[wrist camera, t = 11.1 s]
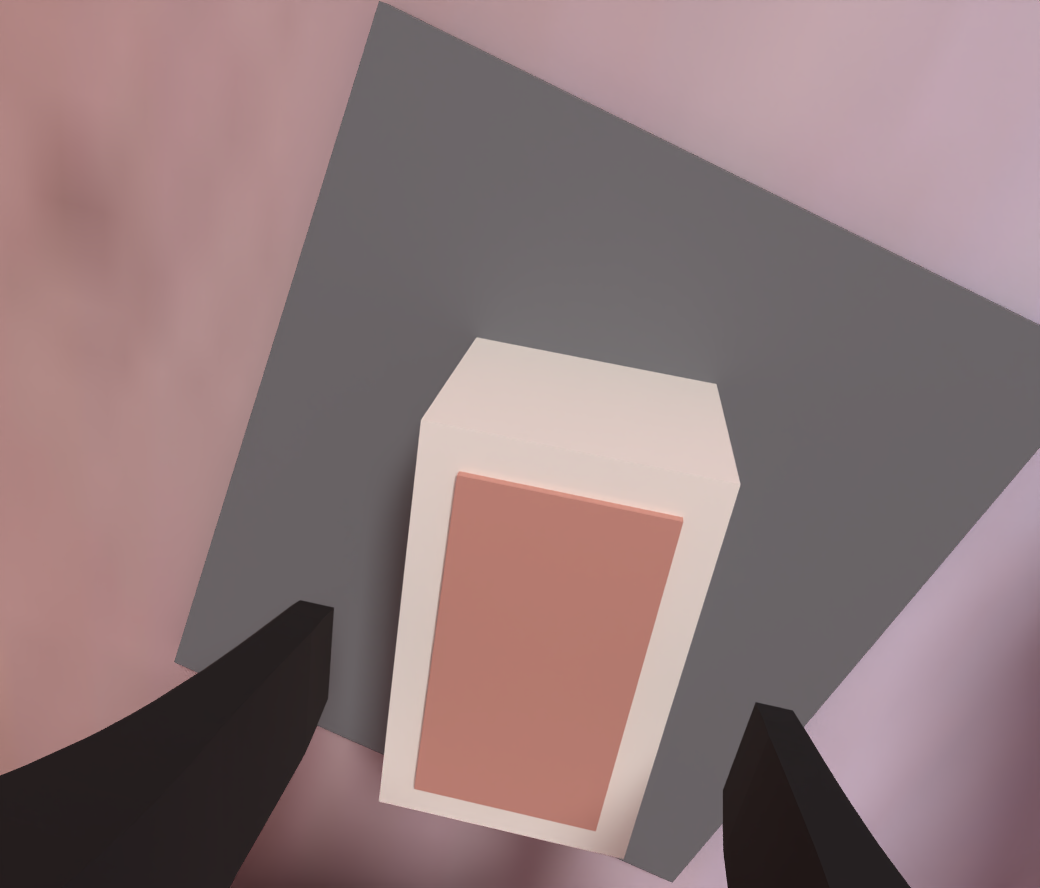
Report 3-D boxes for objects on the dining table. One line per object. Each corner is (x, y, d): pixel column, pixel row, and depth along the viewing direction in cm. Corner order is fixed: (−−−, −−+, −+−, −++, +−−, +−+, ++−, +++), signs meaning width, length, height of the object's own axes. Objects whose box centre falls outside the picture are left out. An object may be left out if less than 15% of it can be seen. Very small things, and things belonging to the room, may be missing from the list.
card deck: (628, 699, 20) (623, 866, 16) (432, 656, 20) (376, 807, 16) (716, 383, 16) (741, 489, 12) (476, 337, 16) (418, 423, 12)
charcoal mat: (1098, 353, 15) (1111, 361, 15) (671, 866, 23) (672, 882, 22) (387, 3, 15) (378, 1, 14) (183, 650, 22) (174, 662, 21)
